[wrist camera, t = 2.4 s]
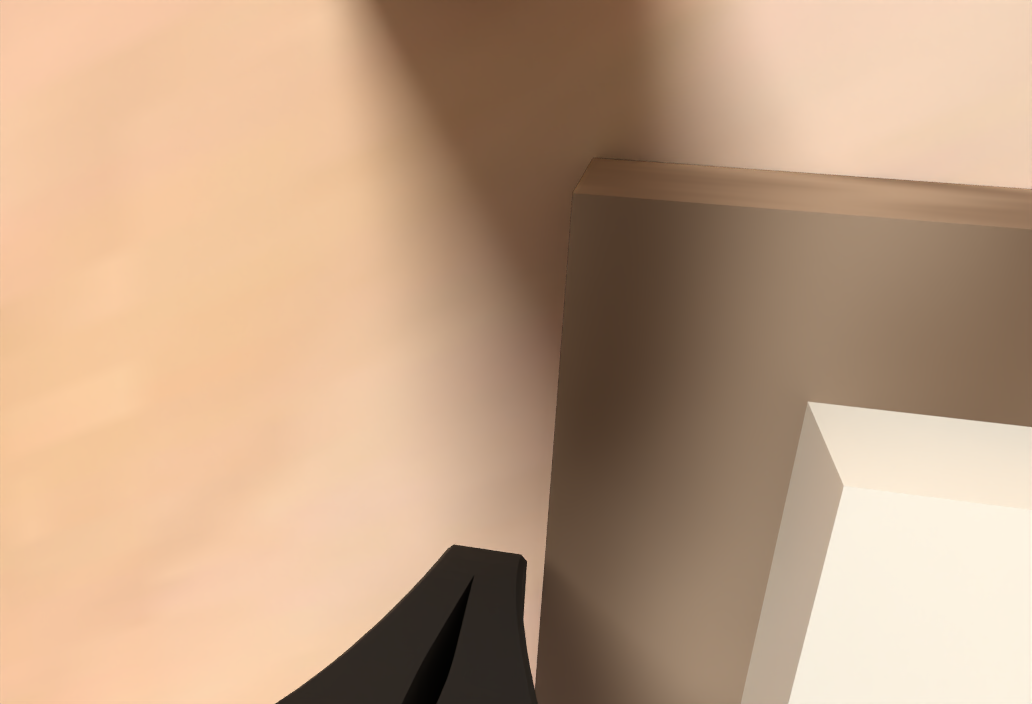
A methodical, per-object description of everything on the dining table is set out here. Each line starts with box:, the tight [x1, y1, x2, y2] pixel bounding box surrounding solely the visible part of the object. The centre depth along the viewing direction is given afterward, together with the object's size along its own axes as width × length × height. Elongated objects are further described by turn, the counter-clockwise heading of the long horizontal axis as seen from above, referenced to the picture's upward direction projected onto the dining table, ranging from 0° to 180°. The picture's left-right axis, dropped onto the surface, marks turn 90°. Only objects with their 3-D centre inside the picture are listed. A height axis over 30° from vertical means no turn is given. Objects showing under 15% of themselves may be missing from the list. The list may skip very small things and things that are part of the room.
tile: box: [741, 402, 1032, 704], centre depth 12 cm, size 6×8×2 cm
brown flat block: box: [535, 158, 1032, 704], centre depth 15 cm, size 14×16×4 cm
